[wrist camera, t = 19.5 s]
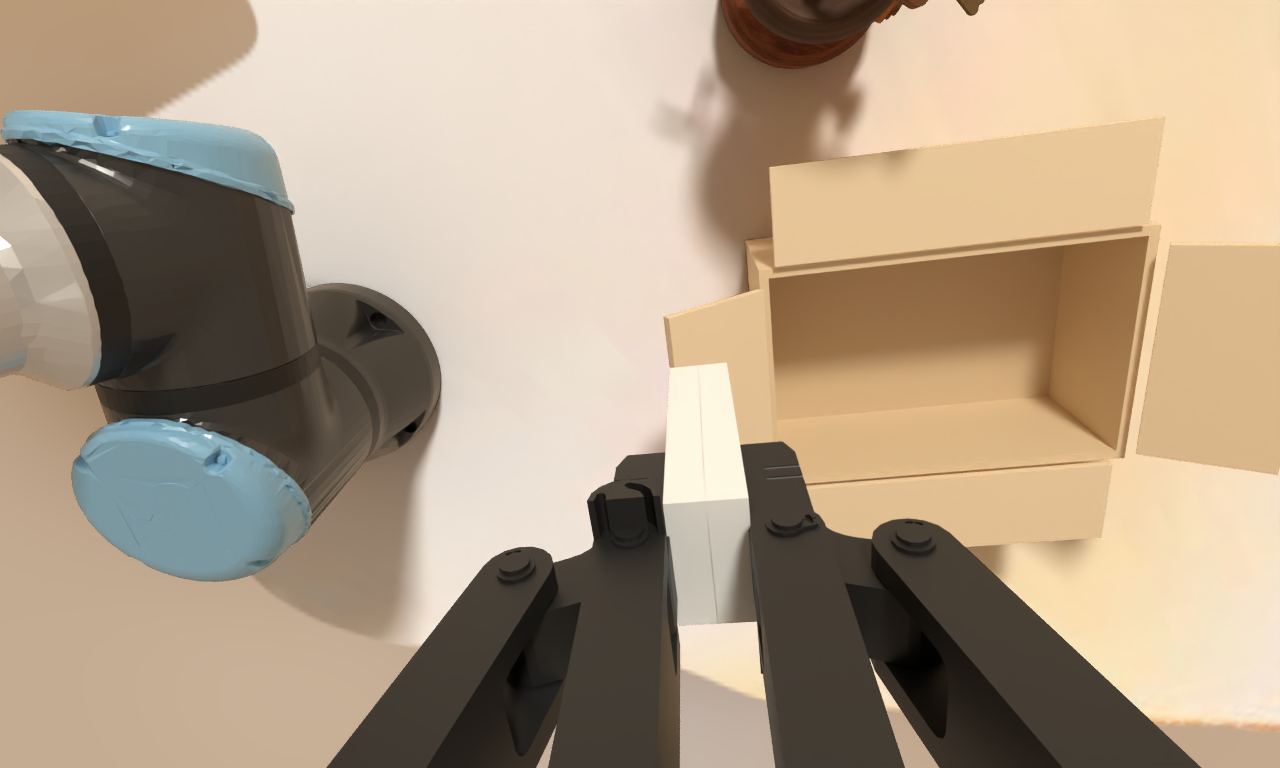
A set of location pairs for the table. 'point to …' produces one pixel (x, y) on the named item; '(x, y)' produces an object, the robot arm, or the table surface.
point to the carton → (962, 327)
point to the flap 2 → (1216, 359)
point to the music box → (809, 26)
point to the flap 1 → (729, 355)
